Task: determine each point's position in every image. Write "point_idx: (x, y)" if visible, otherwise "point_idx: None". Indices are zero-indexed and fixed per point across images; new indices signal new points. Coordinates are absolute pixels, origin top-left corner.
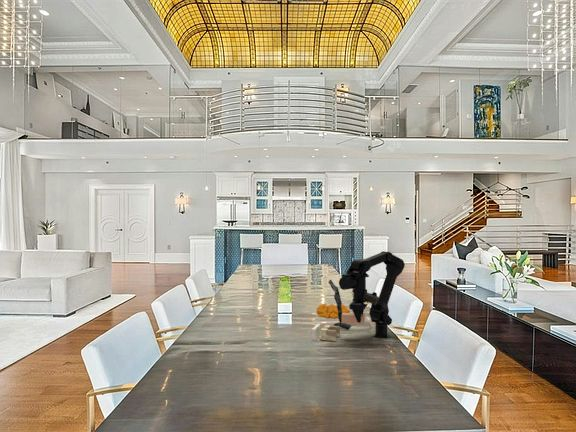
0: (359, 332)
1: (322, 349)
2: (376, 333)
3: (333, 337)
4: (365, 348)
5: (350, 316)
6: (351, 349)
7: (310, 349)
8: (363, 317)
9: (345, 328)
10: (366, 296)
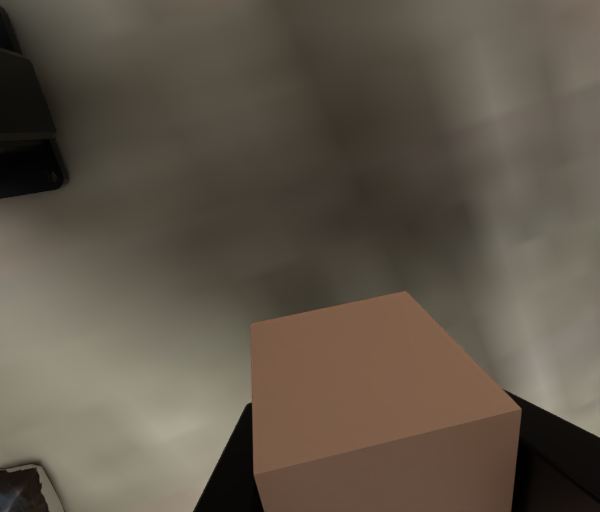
0: (14, 364)
1: (573, 397)
2: (7, 166)
3: None
4: (482, 143)
5: None
6: (535, 241)
7: None
8: (439, 382)
9: (40, 492)
10: None
